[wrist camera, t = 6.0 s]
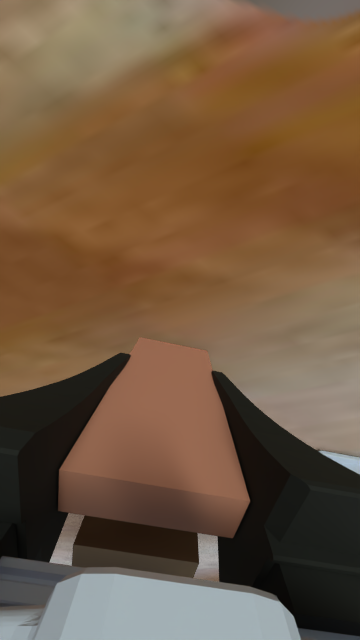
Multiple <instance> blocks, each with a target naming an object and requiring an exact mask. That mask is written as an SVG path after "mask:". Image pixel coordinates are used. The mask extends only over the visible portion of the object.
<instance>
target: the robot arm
mask: <svg viewBox="0 0 360 640" xmlns="http://www.w3.org/2000/svg"><path fill="white" fill-rule="evenodd" d="M130 357H131V355H130V354H124V353H119V354H117V355H115V356H114V357H112V358H110V359H108V360H106V361H105V362H103V363H101V364H99V365H97V366H95V367H93V368H91V369H89V370H87V371H84V372H82V373H80V374H78V375H75V376H73V377H70V378H68V379H65V380H62V381H59V382H56V383H53V384H50V385H46V386H43V387H40V388H36V389H33V390H29V391H25V392H21V393H16V394H12V395H7V396H2V397H0V640H360V457H354V456H349V455H343V454H337V453H332V452H326V451H317V450H315V449H313V448H312V447H310V446H309V445H307V444H305V443H304V442H302V441H301V440H299V439H298V438H296V437H295V436H293V435H292V434H291V433H289V432H288V431H286V430H285V429H283V428H282V427H281V426H279V425H278V424H277V423H275V422H274V421H273V420H272V419H270V418H269V417H268V416H267V415H265V414H264V413H263V412H262V411H261V410H259V409H258V408H257V407H256V406H255V405H254V404H253V403H252V402H251V401H250V400H249V399H248V398H247V397H246V396H244V395H243V394H242V392H241V391H240V390H239V389H238V388H237V387H236V386H235V385H234V384H233V383H232V382H231V381H230V380H229V379H228V378H227V377H226V376H225V375H224V374H223V373H222V372H217V371H212V372H211V374H212V378H213V381H214V385H215V387H216V390H217V392H218V395H219V397H220V400H221V402H222V405H223V408H224V411H225V415H226V418H227V422H228V425H229V429H230V432H231V436H232V439H233V443H234V446H235V450H236V453H237V457H238V460H239V464H240V467H241V471H242V474H243V478H244V481H245V485H246V488H247V492H248V495H249V499H250V503H249V505H248V507H247V509H246V511H245V514H244V516H243V518H242V520H241V522H240V524H239V526H238V529H237V531H236V533H235V535H234V537H233V538H227V537H221V536H218V555H219V582H216V581H209V580H202V579H195V578H188V577H181V576H174V575H167V574H161V573H154V572H147V571H140V570H133V569H126V568H119V567H87V568H83V567H76V566H69V565H62V564H55V563H49V561H50V559H51V556H52V554H53V551H54V549H55V546H56V543H57V541H58V538H59V536H60V533H61V531H62V528H63V525H64V523H65V520H66V518H67V515H68V513H67V512H61V511H58V491H59V469H60V468H61V466H62V464H63V463H64V461H65V459H66V458H67V456H68V454H69V453H70V451H71V450H72V448H73V446H74V445H75V443H76V441H77V440H78V438H79V436H80V435H81V433H82V431H83V430H84V428H85V427H86V425H87V423H88V422H89V420H90V418H91V417H92V415H93V413H94V412H95V410H96V409H97V407H98V405H99V404H100V402H101V400H102V399H103V397H104V395H105V394H106V392H107V390H108V389H109V387H110V386H111V384H112V383H113V382H114V380H115V379H116V378H117V376H118V375H119V374H120V373H121V371H122V370H123V369H124V367H125V366H126V364H127V363H128V361H129V359H130Z"/></svg>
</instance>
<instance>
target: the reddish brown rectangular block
mask: <svg viewBox="0 0 360 640" xmlns="http://www.w3.org/2000/svg"><path fill="white" fill-rule="evenodd" d="M130 355H131V357H130V359H129V361H128V363H127V364H126V366H125V367H124V369H123V370H122V371H121V373H120V374H119V375H118V376H117V378H116V379H115V380H114V382H113V383H112V384H111V386H110V387H109V389H108V390H107V392H106V394H105V395H104V397H103V399H102V400H101V402H100V404H99V405H98V407H97V409H96V410H95V412H94V413H93V415H92V417H91V418H90V420H89V422H88V423H87V425H86V427H85V428H84V430H83V431H82V433H81V435H80V436H79V438H78V440H77V441H76V443H75V445H74V446H73V448H72V450H71V451H70V453H69V454H68V456H67V458H66V459H65V461H64V463H63V464H62V466H61V468H60V469H59V491H58V511H61V512H67V513H74V514H80V515H86V516H93V517H99V518H106V519H112V520H118V521H125V522H131V523H138V524H144V525H150V526H157V527H163V528H170V529H176V530H182V531H189V532H195V533H202V534H208V535H214V536H221V537H227V538H233V537H234V535H235V533H236V531H237V529H238V526H239V524H240V522H241V520H242V518H243V516H244V514H245V511H246V509H247V507H248V505H249V503H250V499H249V495H248V492H247V488H246V485H245V481H244V478H243V474H242V471H241V467H240V464H239V460H238V457H237V453H236V450H235V446H234V443H233V439H232V436H231V432H230V429H229V425H228V422H227V418H226V415H225V411H224V408H223V405H222V402H221V400H220V397H219V395H218V392H217V390H216V387H215V385H214V381H213V378H212V374H211V372H212V371H213V370H212V366H211V363H210V359H209V356H208V352H207V351H206V350H201V349H196V348H191V347H186V346H181V345H176V344H171V343H166V342H161V341H156V340H151V339H146V338H141V337H140V338H139V340H138V341H137V343H136V345H135V346H134V348H133V349H132V351H131V353H130Z"/></svg>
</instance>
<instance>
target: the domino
mask: <svg viewBox="0 0 360 640" xmlns="http://www.w3.org/2000/svg"><path fill="white" fill-rule="evenodd" d="M198 564H199V554H198V535H197V533H195V532H189V531H182V530H176V529H170V528H163V527H157V526H150V525H144V524H138V523H131V522H125V521H118V520H112V519H106V518H99V517H93V516H86V515H85V516H84V519H83V521H82V524H81V527H80V529H79V532H78V534H77V537H76V539H75V542H74V544H73V557H72V566H76V567H83V568H87V567H119V568H126V569H133V570H140V571H147V572H154V573H161V574H167V575H174V576H181V577H188V578H193V577H194V574H195V572H196V569H197V567H198Z"/></svg>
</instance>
